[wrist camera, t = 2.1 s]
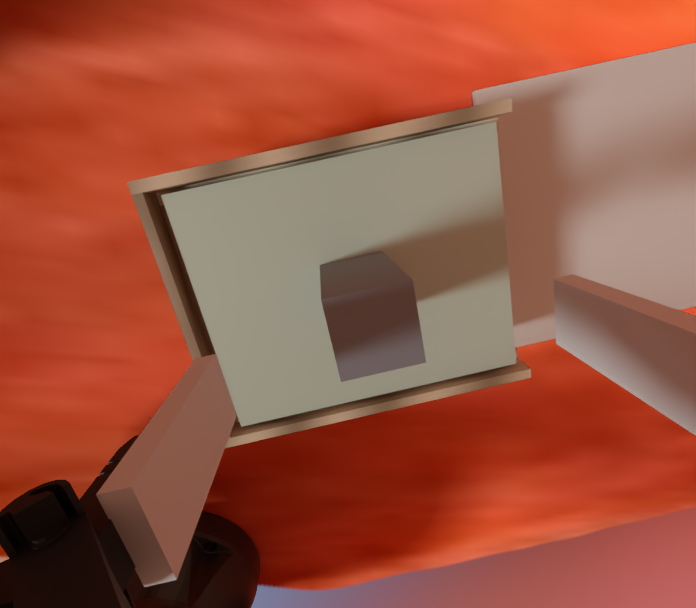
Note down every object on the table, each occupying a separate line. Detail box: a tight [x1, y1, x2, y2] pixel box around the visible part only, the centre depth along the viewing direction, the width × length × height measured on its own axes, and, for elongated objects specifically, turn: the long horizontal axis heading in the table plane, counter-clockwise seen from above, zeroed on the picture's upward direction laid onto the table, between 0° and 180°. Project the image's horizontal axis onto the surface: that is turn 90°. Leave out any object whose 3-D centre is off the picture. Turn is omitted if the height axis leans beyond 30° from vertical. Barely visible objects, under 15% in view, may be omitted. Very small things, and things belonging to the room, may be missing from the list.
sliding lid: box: [161, 122, 516, 427], centre depth 21 cm, size 20×16×9 cm
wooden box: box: [127, 98, 531, 448], centre depth 28 cm, size 22×18×9 cm
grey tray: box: [472, 42, 696, 347], centre depth 32 cm, size 22×22×1 cm
